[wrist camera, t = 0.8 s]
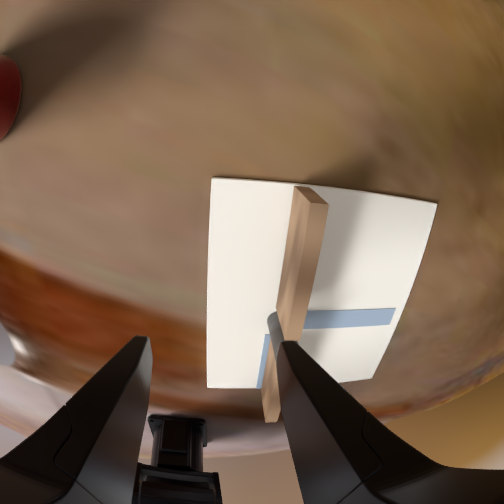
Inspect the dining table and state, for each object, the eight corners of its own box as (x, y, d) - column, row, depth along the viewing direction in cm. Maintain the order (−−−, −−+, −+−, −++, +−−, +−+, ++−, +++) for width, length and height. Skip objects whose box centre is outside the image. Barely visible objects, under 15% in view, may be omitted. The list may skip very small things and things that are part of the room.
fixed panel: (274, 384, 27) (281, 424, 23) (255, 384, 27) (261, 425, 22) (290, 307, 23) (305, 350, 19) (267, 307, 23) (278, 351, 18)
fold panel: (288, 307, 22) (299, 340, 19) (275, 307, 22) (284, 340, 18) (309, 187, 18) (329, 204, 15) (294, 185, 18) (310, 202, 15)
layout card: (370, 375, 28) (371, 379, 28) (207, 384, 26) (207, 388, 26) (434, 202, 20) (438, 204, 20) (212, 177, 18) (211, 178, 18)
